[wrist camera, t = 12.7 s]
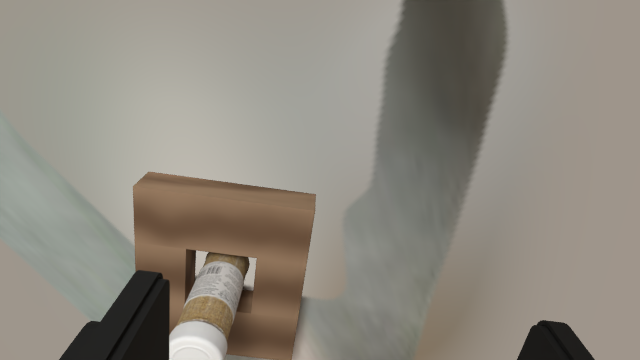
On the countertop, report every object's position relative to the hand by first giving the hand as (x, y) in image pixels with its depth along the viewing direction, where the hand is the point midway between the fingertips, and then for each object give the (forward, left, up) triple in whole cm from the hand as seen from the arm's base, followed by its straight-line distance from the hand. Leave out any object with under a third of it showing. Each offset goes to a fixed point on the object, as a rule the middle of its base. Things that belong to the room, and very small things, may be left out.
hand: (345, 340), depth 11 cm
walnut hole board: (+18, -8, -28) cm, 34 cm away
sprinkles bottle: (+18, -8, -28) cm, 35 cm away
